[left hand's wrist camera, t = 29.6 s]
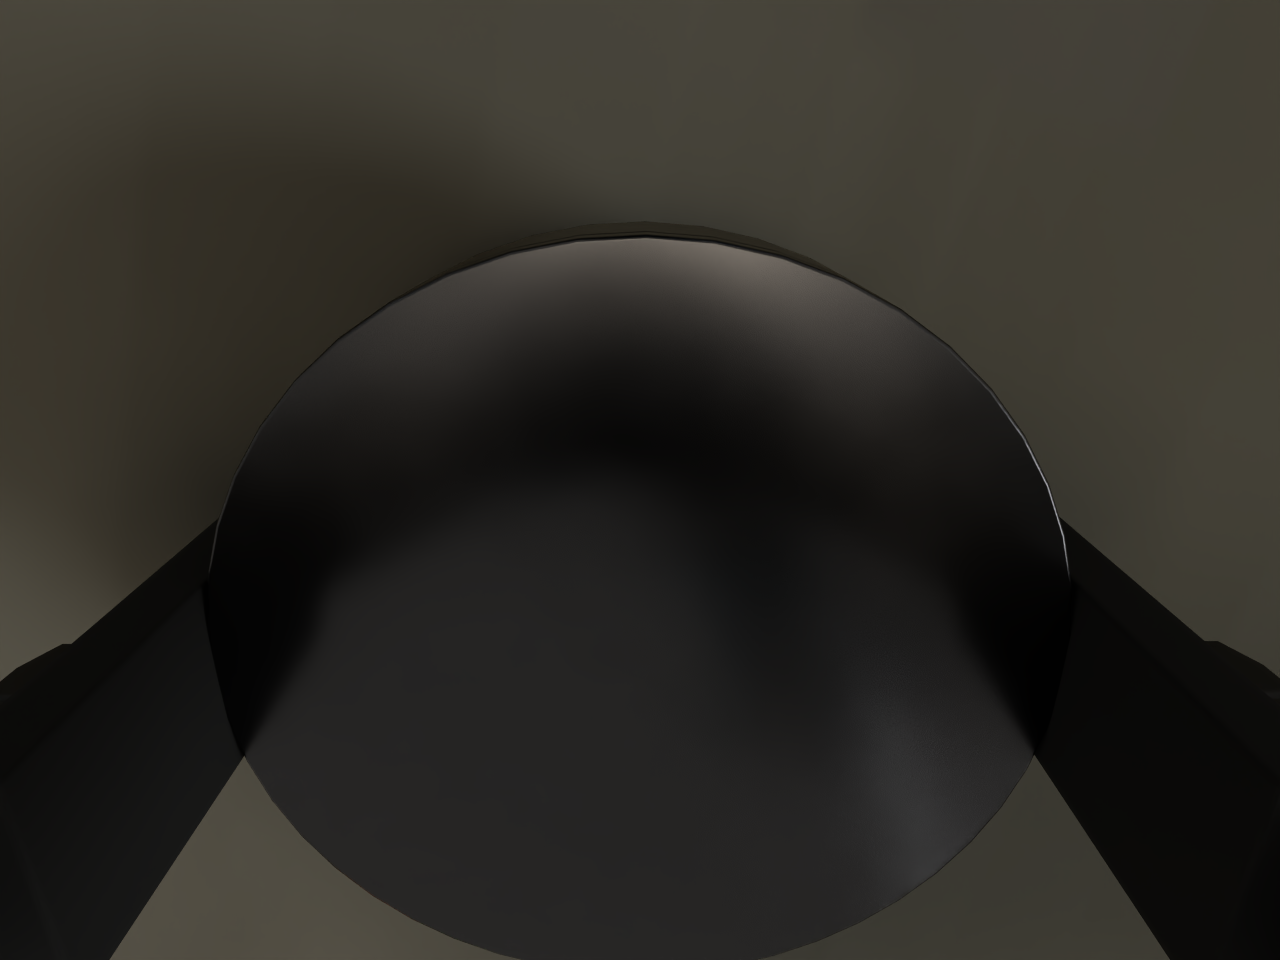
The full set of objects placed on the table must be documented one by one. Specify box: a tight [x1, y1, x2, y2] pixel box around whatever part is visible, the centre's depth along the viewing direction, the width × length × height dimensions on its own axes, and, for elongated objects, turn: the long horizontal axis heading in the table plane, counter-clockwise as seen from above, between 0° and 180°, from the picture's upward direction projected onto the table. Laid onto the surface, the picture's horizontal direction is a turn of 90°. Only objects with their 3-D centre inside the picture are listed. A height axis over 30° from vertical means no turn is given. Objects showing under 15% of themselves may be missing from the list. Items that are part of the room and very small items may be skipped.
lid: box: [207, 221, 1072, 960], centre depth 11 cm, size 11×11×2 cm
